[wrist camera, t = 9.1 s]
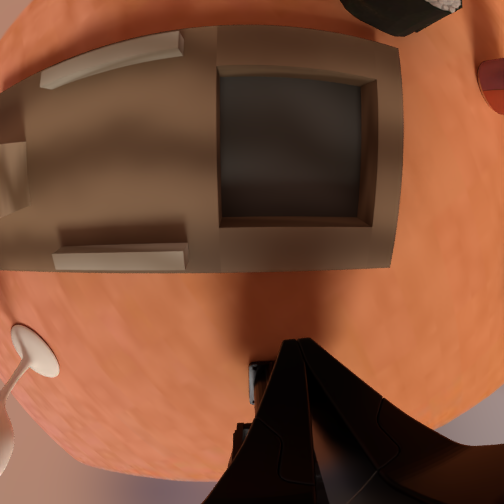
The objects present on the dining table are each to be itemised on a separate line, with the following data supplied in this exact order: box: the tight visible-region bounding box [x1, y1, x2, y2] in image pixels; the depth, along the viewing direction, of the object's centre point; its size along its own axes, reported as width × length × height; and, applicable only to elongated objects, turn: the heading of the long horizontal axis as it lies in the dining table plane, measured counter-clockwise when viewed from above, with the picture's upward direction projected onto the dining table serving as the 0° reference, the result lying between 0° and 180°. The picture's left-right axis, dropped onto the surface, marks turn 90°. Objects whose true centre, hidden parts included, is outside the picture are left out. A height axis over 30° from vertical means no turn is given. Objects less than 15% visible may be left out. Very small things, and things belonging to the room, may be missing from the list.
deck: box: [0, 25, 404, 273], centre depth 15 cm, size 16×34×4 cm, turn 90°
